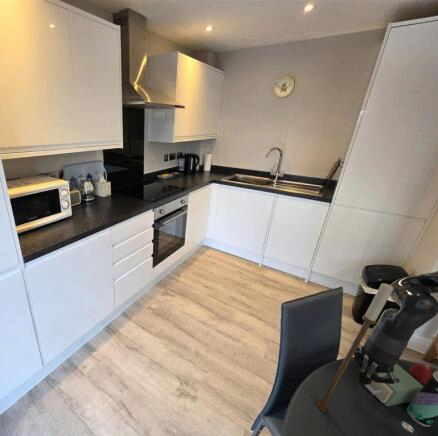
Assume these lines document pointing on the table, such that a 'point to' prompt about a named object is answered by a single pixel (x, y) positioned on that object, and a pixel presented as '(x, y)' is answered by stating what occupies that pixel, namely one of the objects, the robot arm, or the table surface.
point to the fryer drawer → (380, 390)
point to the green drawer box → (402, 387)
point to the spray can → (425, 403)
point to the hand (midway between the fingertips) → (362, 381)
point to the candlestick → (345, 363)
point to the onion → (421, 373)
